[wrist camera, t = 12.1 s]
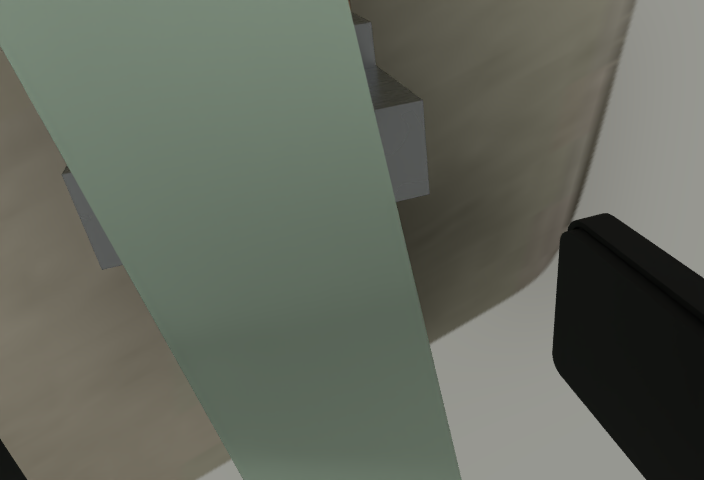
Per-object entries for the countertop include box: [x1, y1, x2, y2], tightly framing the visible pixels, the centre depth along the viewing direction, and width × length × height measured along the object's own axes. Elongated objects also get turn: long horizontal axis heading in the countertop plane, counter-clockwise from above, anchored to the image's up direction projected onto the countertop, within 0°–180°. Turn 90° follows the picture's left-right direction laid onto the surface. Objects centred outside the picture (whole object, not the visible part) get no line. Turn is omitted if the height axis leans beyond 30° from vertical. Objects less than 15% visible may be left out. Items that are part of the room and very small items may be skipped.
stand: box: [62, 0, 429, 270], centre depth 20 cm, size 22×10×10 cm, turn 8°
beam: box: [0, 0, 461, 480], centre depth 14 cm, size 22×5×6 cm, turn 15°
